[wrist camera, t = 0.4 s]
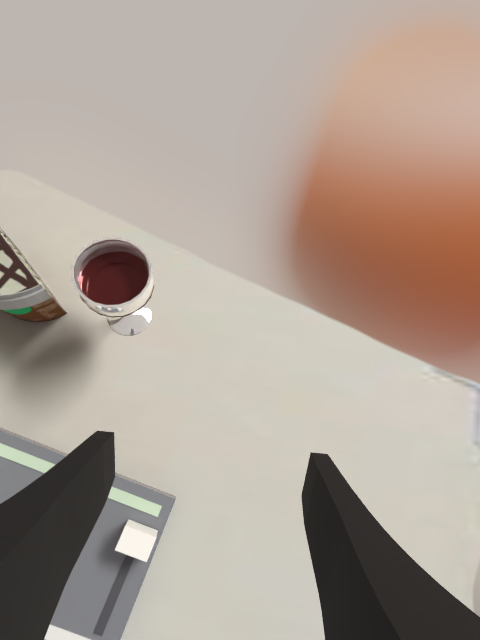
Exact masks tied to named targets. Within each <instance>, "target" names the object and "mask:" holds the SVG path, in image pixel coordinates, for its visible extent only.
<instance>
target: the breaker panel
mask: <svg viewBox="0 0 480 640" xmlns="http://www.w3.org/2000/svg"><path fill="white" fill-rule="evenodd" d="M67 455H68V454H66V453H63V452H60V451H58V450H55V449H53V448H50V447H48V446H45V445H43V444H40V443H38V442H35V441H32V440H30V439H27V438H25V437H22V436H20V435H17V434H15V433H12V432H9V431H7V430H4V429H2V428H0V504H1V503H3V502H4V501H6V500H7V499H9V498H10V497H12V496H13V495H15V494H16V493H18V492H19V491H21V490H22V489H24V488H25V487H26V486H28V485H29V484H31V483H32V482H33V481H35V480H36V479H37V478H39V477H40V476H42V475H43V474H44V473H46V472H47V471H48V470H49V469H51V468H52V467H53V466H55V465H56V464H57V463H58V462H60V461H61V460H62V459H63V458H65V457H66V456H67ZM175 499H176V498H175V496H173V495H170V494H168V493H165V492H163V491H160V490H157V489H155V488H152V487H150V486H147V485H145V484H142V483H140V482H137V481H134V480H132V479H129V478H127V477H124V476H122V475H119V474H117V473H115V479H114V481H113V484H112V487H111V490H110V493H109V495H108V498H107V501H106V503H105V506H104V508H103V510H102V512H101V514H100V516H99V518H98V520H97V522H96V524H95V526H94V528H93V530H92V532H91V534H90V536H89V538H88V540H87V542H86V544H85V546H84V548H83V550H82V552H81V554H80V556H79V558H78V560H77V562H76V564H75V566H74V568H73V570H72V572H71V574H70V576H69V578H68V581H67V583H66V585H65V587H64V590H63V592H62V595H61V597H60V600H59V602H58V605H57V607H56V610H55V612H54V615H53V617H52V620H51V622H50V625H49V628H48V630H47V633H46V635H45V638H44V640H120V639H121V636H122V634H123V631H124V629H125V626H126V624H127V621H128V618H129V616H130V613H131V611H132V608H133V606H134V603H135V601H136V598H137V596H138V593H139V591H140V588H141V585H142V583H143V580H144V578H145V575H146V573H147V570H148V568H149V565H150V563H151V560H152V558H153V555H154V552H155V550H156V547H157V545H158V542H159V540H160V537H161V535H162V532H163V530H164V527H165V525H166V522H167V519H168V517H169V514H170V512H171V509H172V507H173V504H174V502H175ZM128 520H132V521H134V522H137V523H140V524H142V525H145V526H147V527H150V528H153V529H155V530H158V532H157V538H156V540H155V543H154V545H153V548H152V550H151V553H150V555H149V558H148V560H147V562H145V561H142V560H139V559H137V558H134V557H131V556H129V555H126V554H124V553H121V552H118V551H116V550H115V548H116V546H117V544H118V541H119V539H120V537H121V534H122V532H123V530H124V527H125V525H126V523H127V521H128Z"/></svg>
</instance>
